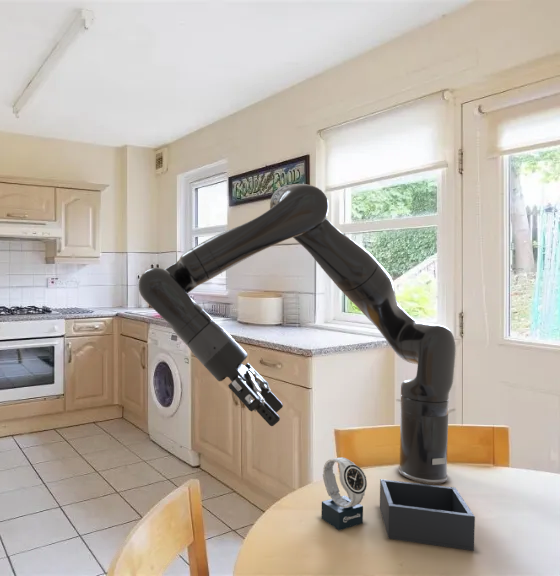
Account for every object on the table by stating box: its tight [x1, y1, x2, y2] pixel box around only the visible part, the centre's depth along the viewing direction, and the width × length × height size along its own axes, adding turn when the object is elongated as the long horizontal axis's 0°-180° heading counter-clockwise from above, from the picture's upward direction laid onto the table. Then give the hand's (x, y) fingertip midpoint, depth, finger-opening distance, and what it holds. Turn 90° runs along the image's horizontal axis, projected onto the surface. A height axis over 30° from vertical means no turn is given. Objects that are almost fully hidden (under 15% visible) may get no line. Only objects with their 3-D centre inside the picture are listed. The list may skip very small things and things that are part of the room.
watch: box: [320, 456, 368, 531], centre depth 85 cm, size 6×8×11 cm
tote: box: [379, 478, 476, 552], centre depth 83 cm, size 11×13×6 cm
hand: (278, 415), depth 87 cm, fingers open, 8 cm apart
